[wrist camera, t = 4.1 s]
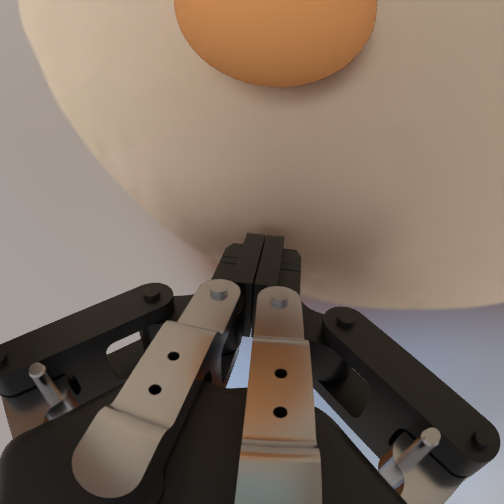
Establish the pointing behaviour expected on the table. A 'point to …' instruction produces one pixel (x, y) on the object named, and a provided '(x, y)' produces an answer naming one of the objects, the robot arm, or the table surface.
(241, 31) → the orange ball
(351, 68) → the table surface
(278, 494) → the robot arm
